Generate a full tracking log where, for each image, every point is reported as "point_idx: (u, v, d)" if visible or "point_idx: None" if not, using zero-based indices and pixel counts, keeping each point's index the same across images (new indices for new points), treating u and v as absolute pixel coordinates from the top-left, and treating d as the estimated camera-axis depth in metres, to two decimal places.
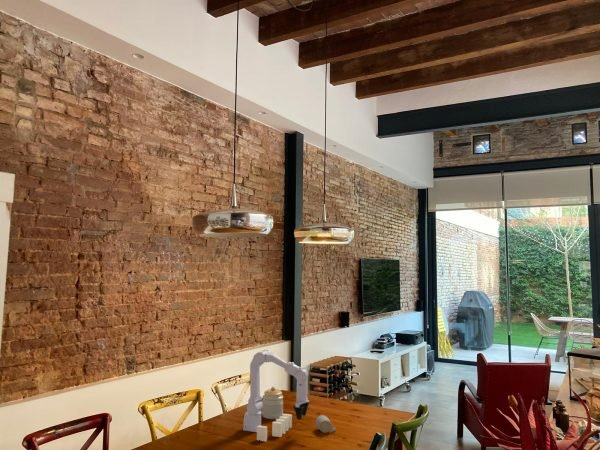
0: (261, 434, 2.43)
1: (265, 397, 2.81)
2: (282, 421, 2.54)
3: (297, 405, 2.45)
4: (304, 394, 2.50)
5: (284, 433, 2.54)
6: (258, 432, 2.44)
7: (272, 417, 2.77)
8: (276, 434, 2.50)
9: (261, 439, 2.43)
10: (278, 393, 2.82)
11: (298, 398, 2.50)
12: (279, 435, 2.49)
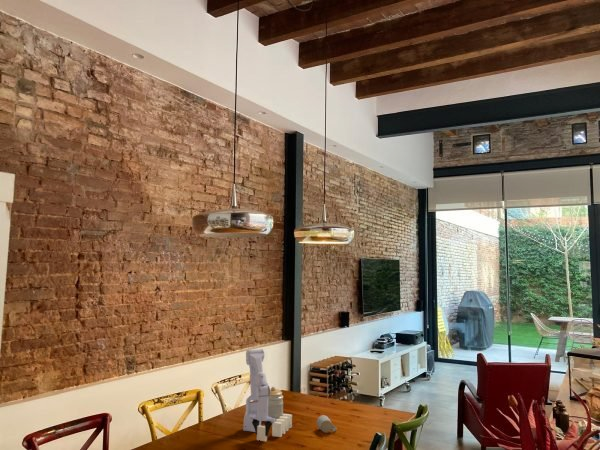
0: (261, 434, 2.43)
1: None
2: (282, 421, 2.54)
3: None
4: (257, 410, 2.44)
5: (284, 433, 2.54)
6: (258, 432, 2.44)
7: (272, 417, 2.77)
8: (276, 434, 2.50)
9: (261, 439, 2.43)
10: (278, 393, 2.82)
11: None
12: (279, 435, 2.49)
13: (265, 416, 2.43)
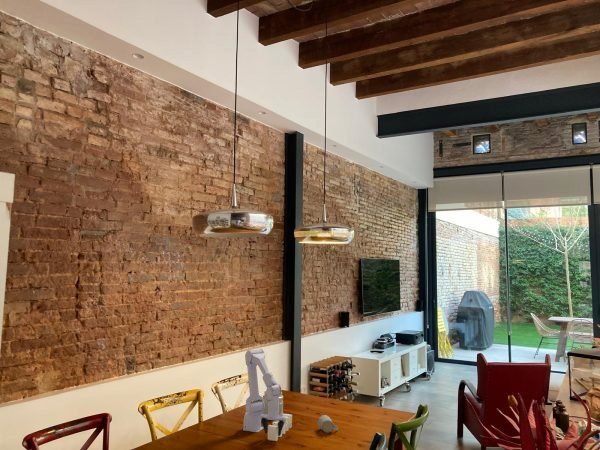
0: (272, 433, 2.44)
1: (265, 397, 2.81)
2: None
3: None
4: (268, 410, 2.45)
5: (284, 433, 2.54)
6: (269, 431, 2.45)
7: None
8: None
9: (271, 439, 2.44)
10: None
11: None
12: None
13: (276, 415, 2.44)
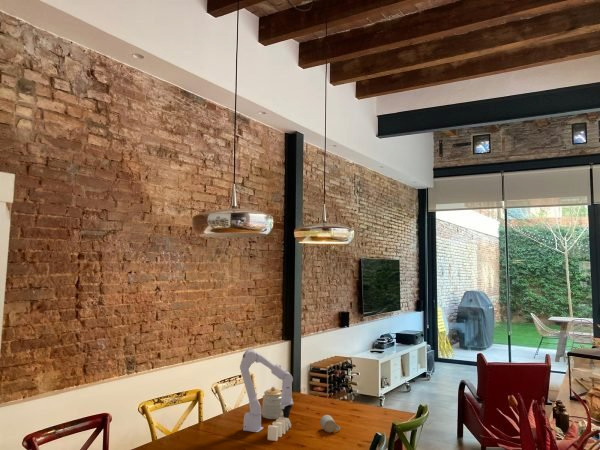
0: (272, 433, 2.44)
1: (265, 397, 2.81)
2: (282, 421, 2.54)
3: (282, 407, 2.58)
4: (289, 396, 2.62)
5: (284, 433, 2.54)
6: (269, 431, 2.45)
7: (272, 417, 2.77)
8: None
9: (271, 439, 2.44)
10: (278, 393, 2.82)
11: (283, 400, 2.62)
12: (279, 435, 2.49)
13: None
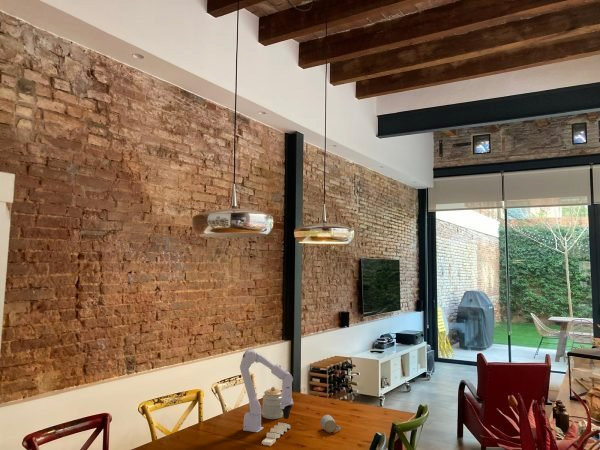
0: None
1: (265, 397, 2.81)
2: (277, 432, 2.47)
3: (282, 407, 2.57)
4: (289, 396, 2.62)
5: None
6: None
7: (272, 417, 2.77)
8: None
9: None
10: (278, 393, 2.82)
11: (283, 400, 2.62)
12: (278, 437, 2.47)
13: None
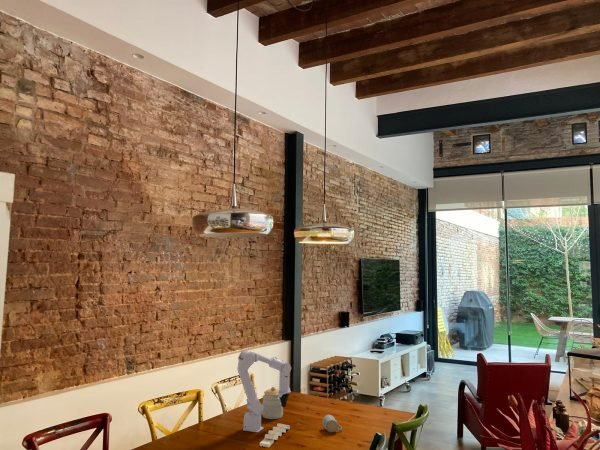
0: None
1: (265, 397, 2.81)
2: None
3: (279, 395, 2.63)
4: (286, 385, 2.68)
5: (281, 434, 2.51)
6: None
7: (272, 417, 2.77)
8: None
9: None
10: None
11: (281, 389, 2.68)
12: (275, 439, 2.44)
13: None
